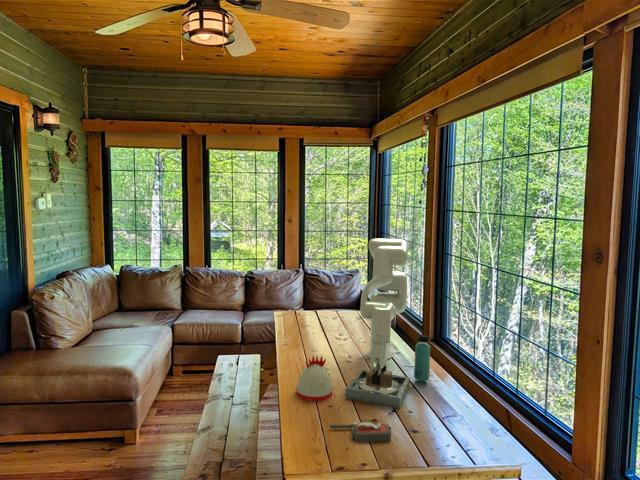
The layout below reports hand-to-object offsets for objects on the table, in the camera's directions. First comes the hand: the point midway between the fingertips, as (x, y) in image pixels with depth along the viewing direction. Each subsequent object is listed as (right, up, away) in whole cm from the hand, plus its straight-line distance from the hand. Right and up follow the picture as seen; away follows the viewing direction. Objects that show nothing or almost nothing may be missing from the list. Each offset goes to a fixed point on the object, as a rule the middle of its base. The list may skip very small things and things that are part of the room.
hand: (379, 379), depth 174 cm
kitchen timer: (-26, -5, -1) cm, 26 cm away
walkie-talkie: (-10, -8, -32) cm, 34 cm away
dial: (0, -3, 0) cm, 3 cm away
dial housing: (0, -5, 0) cm, 5 cm away
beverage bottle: (+20, -5, +12) cm, 23 cm away
